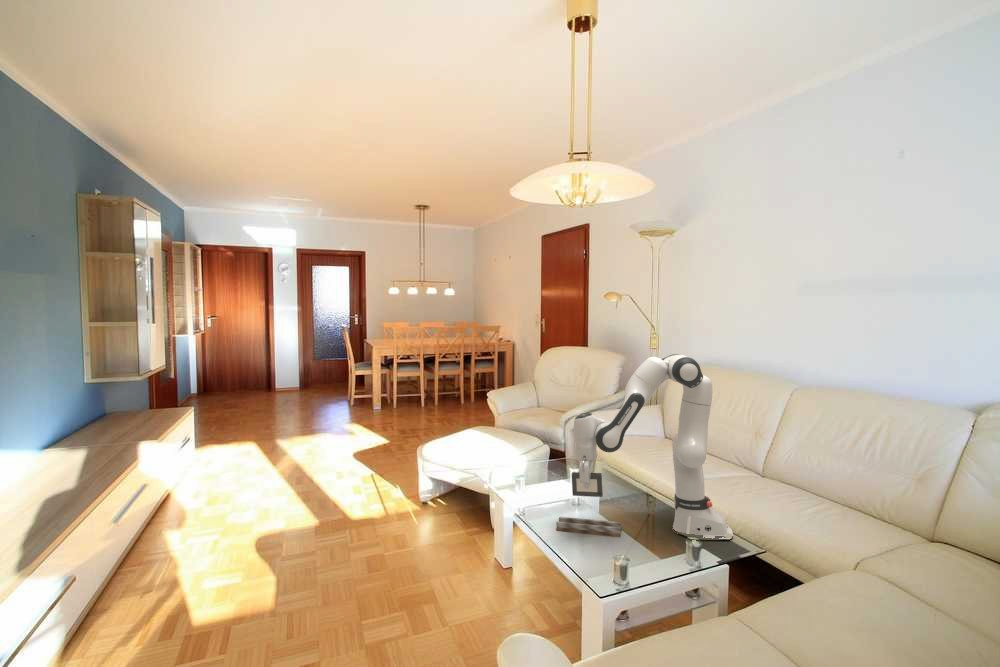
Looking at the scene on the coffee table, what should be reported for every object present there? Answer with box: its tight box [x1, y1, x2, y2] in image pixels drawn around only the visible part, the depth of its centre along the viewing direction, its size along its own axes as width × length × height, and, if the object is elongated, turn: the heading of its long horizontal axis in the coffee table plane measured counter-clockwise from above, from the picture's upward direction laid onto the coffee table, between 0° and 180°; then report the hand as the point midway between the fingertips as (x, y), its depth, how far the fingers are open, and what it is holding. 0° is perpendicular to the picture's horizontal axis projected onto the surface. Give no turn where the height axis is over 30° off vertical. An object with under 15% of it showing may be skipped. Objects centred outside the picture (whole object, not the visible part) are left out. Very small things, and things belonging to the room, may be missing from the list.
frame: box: [571, 471, 604, 498], centre depth 199 cm, size 12×2×9 cm, turn 75°
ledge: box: [555, 516, 623, 538], centre depth 201 cm, size 26×8×3 cm, turn 71°
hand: (587, 486), depth 199 cm, fingers closed on frame, 2 cm apart
